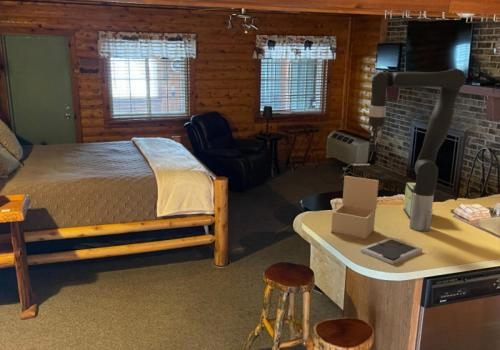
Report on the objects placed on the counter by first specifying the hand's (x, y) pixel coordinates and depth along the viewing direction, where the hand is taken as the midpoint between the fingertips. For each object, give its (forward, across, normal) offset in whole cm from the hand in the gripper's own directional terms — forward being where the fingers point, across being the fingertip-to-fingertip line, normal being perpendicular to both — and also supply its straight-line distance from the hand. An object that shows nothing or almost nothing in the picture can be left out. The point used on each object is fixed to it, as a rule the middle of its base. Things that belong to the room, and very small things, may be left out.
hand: (374, 151), depth 228 cm
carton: (+35, -19, +2) cm, 40 cm away
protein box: (+36, +23, -19) cm, 46 cm away
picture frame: (+36, -34, -19) cm, 53 cm away
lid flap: (+18, -12, +2) cm, 22 cm away
